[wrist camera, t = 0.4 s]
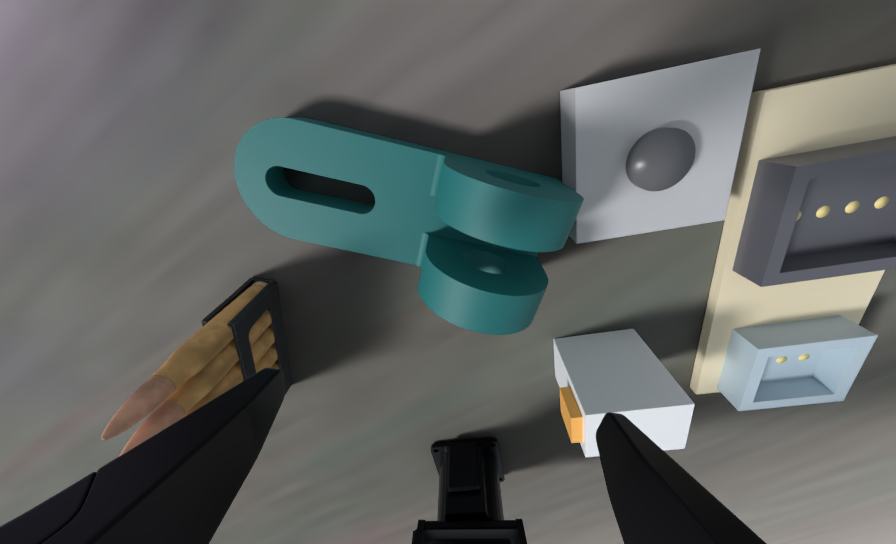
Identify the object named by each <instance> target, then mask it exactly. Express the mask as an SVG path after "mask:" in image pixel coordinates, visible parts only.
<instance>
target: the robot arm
mask: <svg viewBox="0 0 896 544" xmlns="http://www.w3.org/2000/svg"><path fill="white" fill-rule="evenodd" d="M284 395H285V386H284V377H283V372H282V370H280V369H275V368H264V369H262V370H261V371H259V372H257V373H256V374H254V375H252V376H251V377H249V378H247V379H246V380H244V381H242V382H241V383H239V384H238V385H236V386H234V387H233V388H231V389H229V390H228V391H226V392H224V393H223V394H221V395H219V396H218V397H216V398H215V399H213V400H211V401H210V402H208V403H206V404H205V405H203V406H201V407H200V408H198V409H196V410H195V411H193V412H192V413H190V414H188V415H187V416H185V417H183V418H182V419H180V420H178V421H177V422H175V423H173V424H172V425H170V426H169V427H167V428H165V429H164V430H162V431H160V432H159V433H157V434H155V435H154V436H152V437H150V438H149V439H147V440H146V441H144V442H142V443H141V444H139V445H137V446H136V447H134V448H132V449H131V450H129V451H127V452H126V453H124V454H123V455H121V456H119V457H118V458H116V459H114V460H113V461H111V462H109V463H108V464H106V465H104V466H103V467H101V468H100V469H99V470H98V471H97V472H93V473H91V474H89V475H88V476H86V477H85V478H83V479H81V480H80V481H78V482H76V483H75V484H73V485H71V486H70V487H68V488H66V489H65V490H63V491H61V492H60V493H58V494H56V495H55V496H53V497H51V498H49V499H48V500H46V501H44V502H43V503H41V504H39V505H38V506H36V507H34V508H33V509H31V510H29V511H27V512H26V513H24V514H22V515H20V516H19V517H17V518H15V519H13V520H11V521H10V522H8V523H6V524H4V525H2V526H1V527H0V544H209V542H210V541H211V539H212V537H213V535H214V533H215V532H216V530H217V528H218V526H219V525H220V523H221V521H222V519H223V518H224V516H225V514H226V512H227V511H228V509H229V507H230V505H231V504H232V502H233V500H234V498H235V496H236V495H237V493H238V491H239V489H240V488H241V486H242V484H243V482H244V481H245V479H246V477H247V475H248V474H249V472H250V470H251V468H252V466H253V465H254V463H255V461H256V459H257V457H258V455H259V453H260V451H261V449H262V447H263V444H264V442H265V440H266V438H267V435H268V433H269V431H270V429H271V426H272V424H273V422H274V420H275V417H276V415H277V413H278V411H279V408H280V406H281V404H282V402H283V399H284ZM596 443H597V447H598V451H599V455H600V460H601V464H602V468H603V473H604V477H605V481H606V486H607V490H608V494H609V497H610V501H611V504H612V507H613V511H614V514H615V517H616V520H617V523H618V526H619V529H620V532H621V535H622V538H623V541H624V544H766V543H765V542H764V541H763V540H762V539H761V538H759V537H758V536H757V535H756V534H755V533H754V532H753V531H752V530H751V529H750V528H748V527H747V526H746V525H745V524H744V523H743V522H742V521H741V520H740V519H738V518H737V517H736V516H735V515H734V514H733V513H732V512H731V511H730V510H728V509H727V508H726V507H725V506H724V505H723V504H722V503H721V502H720V501H719V500H717V499H716V498H715V497H714V496H713V495H712V494H711V493H710V492H709V491H707V490H706V489H705V488H704V487H703V486H702V485H701V484H700V483H699V482H697V481H696V480H695V479H694V478H693V477H692V476H691V475H690V474H689V473H687V472H686V471H685V470H684V469H683V468H682V467H681V466H680V465H679V464H678V463H676V462H675V461H674V460H673V459H672V458H671V457H670V456H669V455H668V454H666V453H665V452H664V451H663V450H662V449H661V448H660V447H659V446H658V445H656V444H655V443H654V442H653V441H652V440H651V439H650V438H649V437H648V436H647V435H645V434H644V433H643V432H642V431H641V430H640V429H639V428H638V427H637V426H635V425H634V424H633V423H632V422H631V421H630V420H629V419H628V418H627V417H625V416H624V415H623V414H619V413H611V412H608V413H606V414H605V415H604V417H603V419H602V421H601V423H600V425H599V427H598V429H597V431H596ZM431 453H432V456H433V459H434V462H435V465H436V468H437V470H438V473H439V476H440V477H439V498H438V519H437V521H425V520H418V527H417V529H416V530H415V531H413V538H412V544H527V541H526V536H525V531H524V526H523V521H522V519H515V520H504V517H503V508H502V499H501V490H500V482H503V481H504V472H503V467H502V462H501V456H500V451H499V445H498V441H497V439H495V438H486V439H476V440H466V441H456V442H446V443H436V444H433V445H432V446H431Z"/></svg>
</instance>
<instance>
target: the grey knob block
mask: <svg viewBox="0 0 896 544" xmlns="http://www.w3.org/2000/svg"><path fill="white" fill-rule="evenodd" d="M760 50H761V48H760V49H755V50H750V51H745V52H741V53H736V54H731V55H726V56H721V57H717V58H712V59H707V60H703V61H698V62H693V63H689V64H684V65H679V66H675V67H670V68H665V69H661V70H656V71H651V72H647V73H642V74H637V75H633V76H628V77H623V78H619V79H614V80H609V81H605V82H600V83H595V84H591V85H586V86H581V87H577V88H572V89H567V90H563V91H560V110H561V147H562V183H564V184H565V185H567V186H568V187H569V188H571V189H572V190H574V191H575V192H577V193H578V194H580V195H581V196H582V197H583V198H584V201H583V203H582V205H581V208H580V210H579V212H578V215H577V217H576V220H575V222H574V224H573V227H572V229H571V231H570V234H569V236H570V237H571V238H572V239H573V240H574V241H575V243H576V244H579V243H585V242H591V241H598V240H604V239H610V238H616V237H622V236H629V235H635V234H641V233H647V232H653V231H660V230H666V229H672V228H678V227H684V226H691V225H697V224H703V223H709V222H715V221H721V220H725V216H726V211H727V206H728V202H729V197H730V192H731V187H732V183H733V178H734V173H735V168H736V164H737V159H738V154H739V149H740V145H741V140H742V135H743V130H744V126H745V121H746V116H747V111H748V107H749V102H750V97H751V93H752V88H753V83H754V78H755V74H756V69H757V64H758V59H759V55H760Z"/></svg>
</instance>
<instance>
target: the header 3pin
mask: <svg viewBox="0 0 896 544" xmlns="http://www.w3.org/2000/svg"><path fill="white" fill-rule="evenodd" d="M877 336H878V335H877V334H875V333H873V332H871V331H869V330H867V329H865V328H863V327H862V326H860V325H858V324H856V323H854V322H852V321H850V320H848V319H846V318H845V317H843V316H841V315H839V316H831V317H823V318H816V319H808V320H800V321H792V322H784V323H776V324H768V325H760V326H752V327H744V328H736V329H732V333H731V337H730V341H729V344H728V348H727V352H726V356H725V359H724V363H723V367H722V371H721V374H720V378H719V382H718V386H717V389H718V390H719V391H720V392H721V393H722V394H723V395H724V396H725V397H726V398H727V399H728V400H729V402H730V403H731V404H732V405H733V406H734V407H735V408H736V409H737V410H738V411H745V410H755V409H765V408H775V407H785V406H795V405H805V404H815V403H825V402H835V401H844V399H845V397H846V395H847V393H848V391H849V389H850V387H851V385H852V383H853V382H854V380H855V378H856V376H857V374H858V372H859V370H860V368H861V366H862V365H863V363H864V361H865V359H866V357H867V355H868V353H869V351H870V349H871V347H872V346H873V344H874V342H875V340H876V338H877Z"/></svg>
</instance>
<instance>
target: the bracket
mask: <svg viewBox="0 0 896 544" xmlns="http://www.w3.org/2000/svg"><path fill="white" fill-rule="evenodd" d="M284 167H285V168H290V169H294V170H298V171H303V172H307V173H311V174H316V175H320V176H325V177H329V178H333V179H338V180H342V181H346V182H351V183H355V184H359V185H363V186H366V187H368V188H369V189H370V190H371V191H372V192H373V194H374V197H375V204H374V205H368V204H364V203H359V202H355V201H350V200H346V199H341V198H337V197H333V196H328V195H324V194H319V193H315V192H310V191H306V190H301V189H297V188H294V187H292V186H291V185H289V184H288V182H287V181H286V180H285V177H284V174H283V170H284ZM234 174H235V180H236V183H237V187H238V189H239V192H240V194H241V196H242V198H243V200H244V202H245V203H246V205H247V207H248V208H249V209H250V211H251V212H252V213H253V214H254V215H255V216H256V217H257V218H258V219H259V220H260V221H261V222H262V223H263V224H264V225H266V226H267V227H269V228H270V229H271V230H273V231H275V232H277V233H279V234H281V235H283V236H285V237H288V238H292V239H295V240H300V241H305V242H309V243H314V244H319V245H324V246H328V247H333V248H338V249H342V250H347V251H352V252H357V253H361V254H366V255H371V256H375V257H380V258H385V259H390V260H394V261H399V262H404V263H408V264H413V265H417V266H419V267H421V274H420V278H419V283H418V291H419V295H420V297H421V299H422V300H423V302H424V303H425V304H426V305H427V306H428V307H429V308H430V309H431V310H432V311H433V312H434V313H436V314H437V315H438V316H440V317H441V318H443V319H445V320H446V321H448V322H450V323H452V324H454V325H457V326H459V327H462V328H465V329H468V330H471V331H475V332H479V333H485V334H495V335H504V334H512V333H516V332H519V331H522V330H524V329H525V328H527V327H528V326H529V325H530V324H531V322H532V321H533V318H534V316H535V314H536V311H537V309H538V306H539V304H540V302H541V299H542V297H543V295H544V292H545V290H546V288H547V285H548V277H547V275H546V273H545V271H544V269H543V267H542V266H541V264H540V262H539V260H538V258H537V256H538V253H539V252H552V251H557V250H560V249H562V248H563V247H564V245H565V243H566V241H567V238H568V236H569V234H570V231H571V229H572V227H573V224H574V222H575V220H576V217H577V215H578V212H579V210H580V208H581V205H582V203H583V201H584V198H583V197H582V196H581V195H580V194H578V193H577V192H575V191H574V190H572V189H571V188H569V187H568V186H567V185H565V184H564V183H562V182H561V181H559V180H558V179H556V178H554V177H550V176H546V175H542V174H538V173H533V172H529V171H525V170H521V169H517V168H513V167H509V166H505V165H500V164H496V163H492V162H488V161H484V160H480V159H476V158H472V157H467V156H463V155H459V154H455V153H451V152H447V151H443V150H439V149H434V148H430V147H426V146H422V145H418V144H414V143H410V142H406V141H401V140H397V139H393V138H389V137H385V136H381V135H377V134H373V133H368V132H364V131H360V130H356V129H352V128H348V127H344V126H340V125H335V124H331V123H327V122H323V121H319V120H315V119H310V118H303V117H293V118H273V119H268V120H265V121H262V122H260V123H258V124H256V125H254V126H253V127H252V128H250V129H249V130H248V131H247V132H246V133H245V134H244V136H243V137H242V139H241V140H240V142H239V144H238V146H237V149H236V153H235V158H234Z"/></svg>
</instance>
